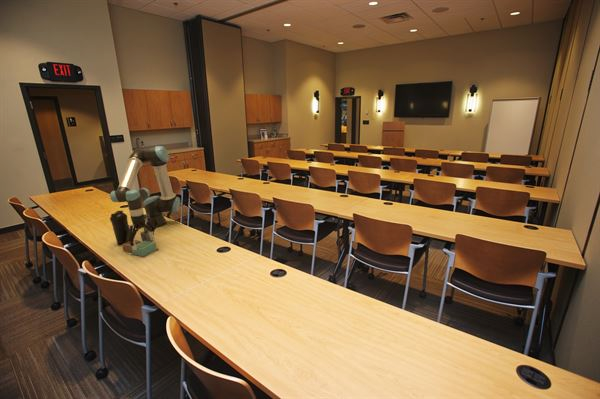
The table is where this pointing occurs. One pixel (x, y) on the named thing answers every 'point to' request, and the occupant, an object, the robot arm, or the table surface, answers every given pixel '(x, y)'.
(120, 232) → the water bottle
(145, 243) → the cover
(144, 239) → the lock block
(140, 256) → the mat
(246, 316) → the table surface
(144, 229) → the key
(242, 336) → the table surface
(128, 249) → the case
